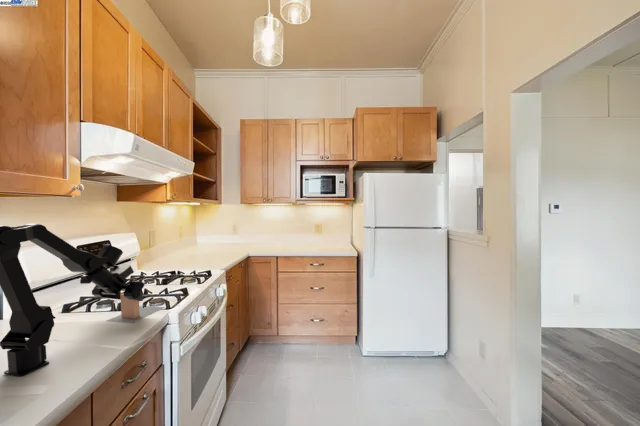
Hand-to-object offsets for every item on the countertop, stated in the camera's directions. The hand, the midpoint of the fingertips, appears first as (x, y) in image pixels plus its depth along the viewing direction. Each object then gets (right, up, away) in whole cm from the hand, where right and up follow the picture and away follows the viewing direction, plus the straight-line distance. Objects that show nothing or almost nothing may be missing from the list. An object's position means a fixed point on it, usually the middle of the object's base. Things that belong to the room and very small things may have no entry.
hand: (132, 299), depth 112 cm
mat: (+1, -7, +2) cm, 7 cm away
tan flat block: (0, -6, -1) cm, 6 cm away
